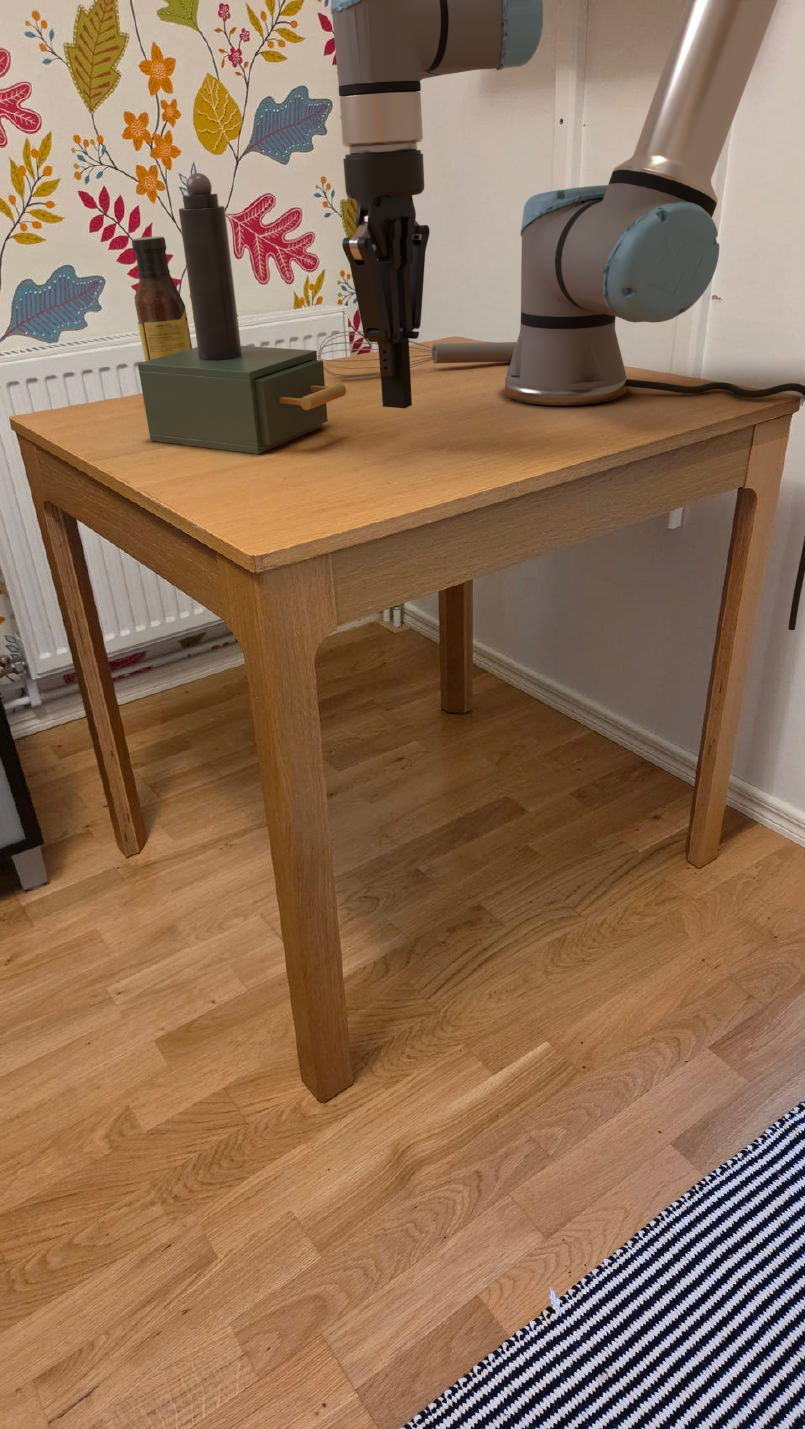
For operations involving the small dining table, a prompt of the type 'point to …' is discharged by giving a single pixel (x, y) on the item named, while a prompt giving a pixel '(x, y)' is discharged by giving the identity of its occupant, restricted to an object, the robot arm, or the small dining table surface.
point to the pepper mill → (209, 271)
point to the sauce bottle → (158, 302)
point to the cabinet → (212, 397)
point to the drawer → (293, 400)
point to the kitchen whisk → (442, 353)
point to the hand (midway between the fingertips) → (397, 405)
